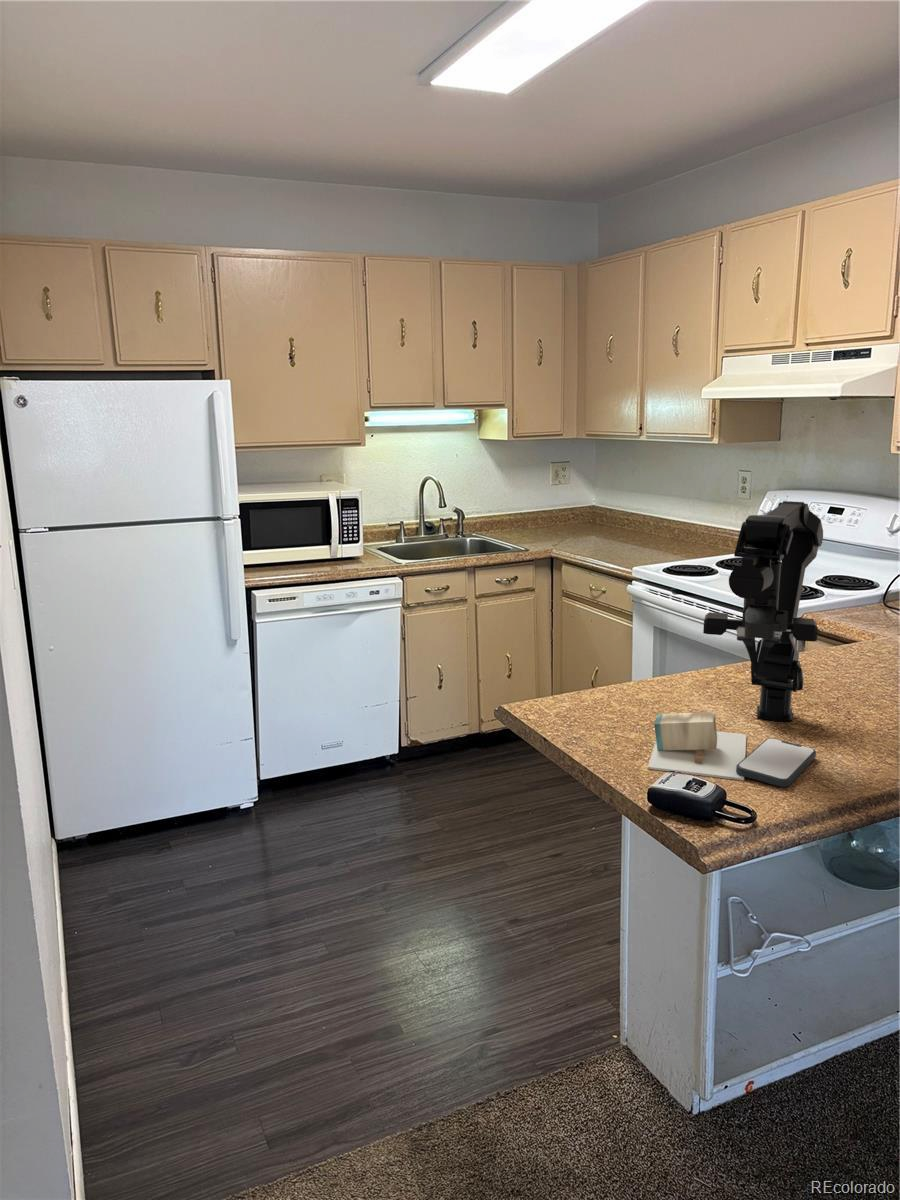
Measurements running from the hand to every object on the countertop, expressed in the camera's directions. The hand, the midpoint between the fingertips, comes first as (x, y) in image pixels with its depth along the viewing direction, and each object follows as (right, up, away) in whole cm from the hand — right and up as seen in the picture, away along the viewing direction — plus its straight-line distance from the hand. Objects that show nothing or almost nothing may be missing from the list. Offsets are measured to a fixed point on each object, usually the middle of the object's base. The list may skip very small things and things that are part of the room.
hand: (756, 672), depth 154 cm
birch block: (-8, -10, -3) cm, 13 cm away
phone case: (0, -15, -8) cm, 17 cm away
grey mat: (-11, -14, -2) cm, 18 cm away
